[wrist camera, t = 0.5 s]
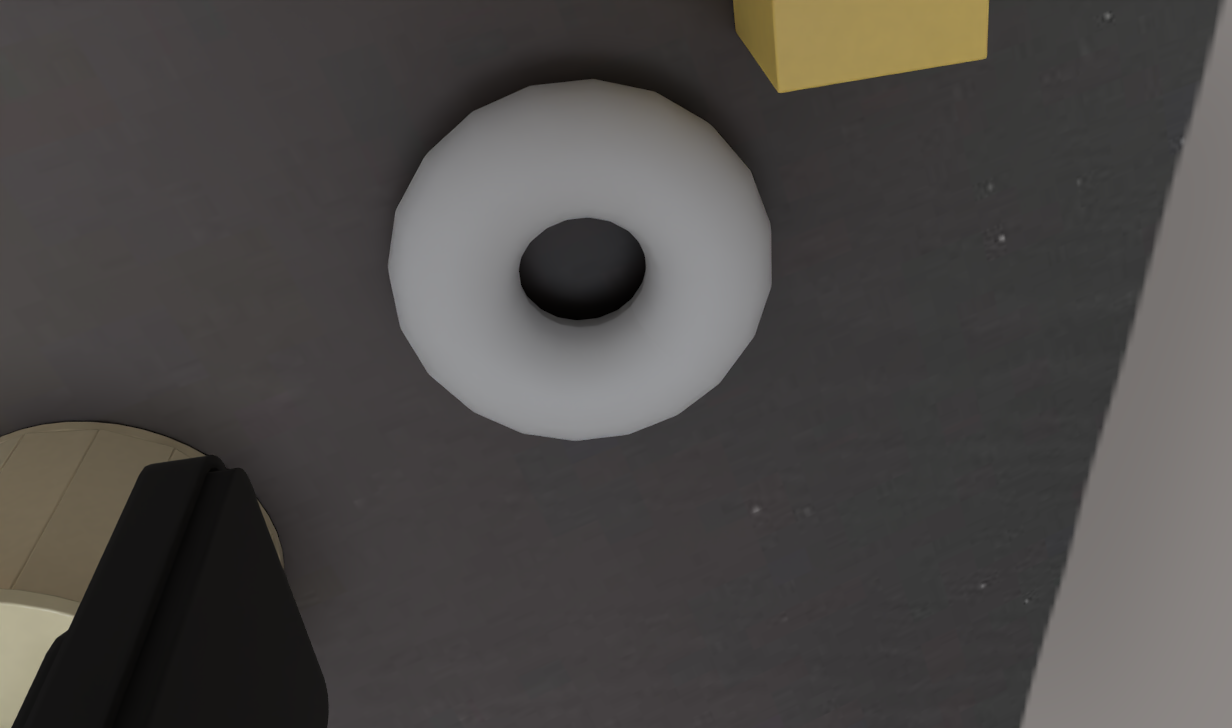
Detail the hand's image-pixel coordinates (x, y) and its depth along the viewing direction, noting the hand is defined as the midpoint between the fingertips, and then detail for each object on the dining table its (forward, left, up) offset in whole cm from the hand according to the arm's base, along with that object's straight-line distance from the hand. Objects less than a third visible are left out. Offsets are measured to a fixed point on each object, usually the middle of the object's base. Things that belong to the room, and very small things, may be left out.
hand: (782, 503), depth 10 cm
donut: (+6, -2, -20) cm, 21 cm away
